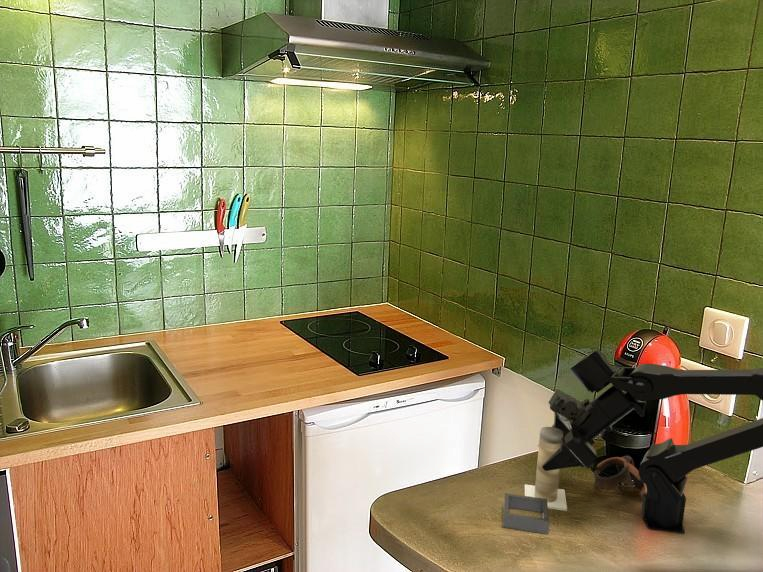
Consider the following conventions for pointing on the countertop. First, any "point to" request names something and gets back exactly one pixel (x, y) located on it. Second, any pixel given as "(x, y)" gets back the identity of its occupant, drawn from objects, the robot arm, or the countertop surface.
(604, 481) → the pottery mug
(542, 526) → the metal holder
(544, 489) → the beige cylinder grey cap
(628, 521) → the countertop surface
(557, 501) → the off-white pad
